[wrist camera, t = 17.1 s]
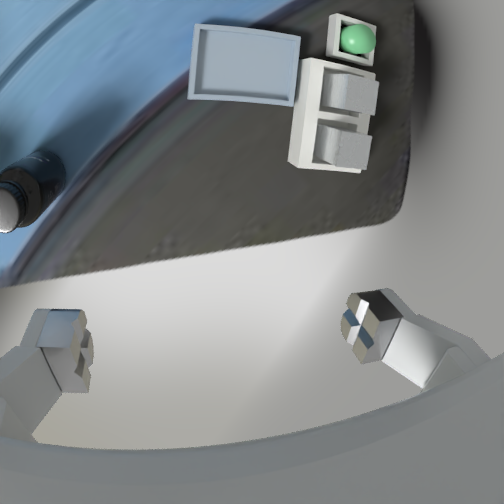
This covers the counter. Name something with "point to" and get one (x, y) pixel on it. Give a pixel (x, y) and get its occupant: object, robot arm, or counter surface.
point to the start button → (357, 39)
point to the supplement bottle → (29, 189)
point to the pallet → (320, 113)
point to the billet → (349, 93)
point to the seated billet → (342, 146)
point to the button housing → (334, 39)
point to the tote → (243, 65)
